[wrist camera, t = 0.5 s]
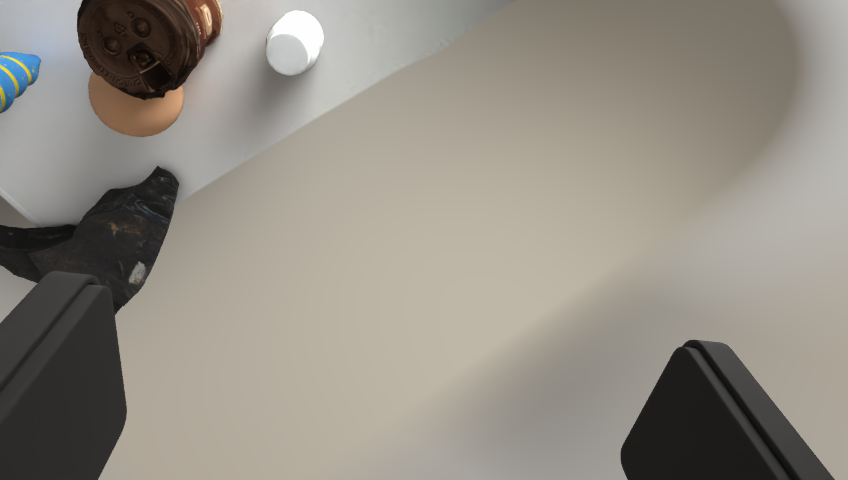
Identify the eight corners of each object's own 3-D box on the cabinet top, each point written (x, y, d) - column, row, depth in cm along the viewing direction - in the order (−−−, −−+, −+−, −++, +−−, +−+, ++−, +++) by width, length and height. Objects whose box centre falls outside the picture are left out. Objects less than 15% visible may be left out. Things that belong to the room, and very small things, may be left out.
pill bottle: (276, 57, 51) (260, 79, 45) (275, 7, 49) (258, 23, 43) (323, 62, 52) (314, 84, 45) (324, 13, 50) (315, 29, 43)
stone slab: (134, 122, 54) (123, 144, 50) (241, 232, 64) (239, 258, 60) (-37, 230, 57) (-61, 259, 53) (91, 319, 67) (79, 349, 63)
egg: (210, 96, 53) (182, 127, 46) (150, 132, 54) (115, 166, 47) (157, 26, 49) (117, 46, 42) (94, 65, 51) (46, 92, 43)
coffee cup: (233, 72, 52) (192, 116, 41) (141, 55, 51) (72, 97, 39) (236, -28, 47) (191, -9, 36) (134, -49, 46) (56, -35, 35)
